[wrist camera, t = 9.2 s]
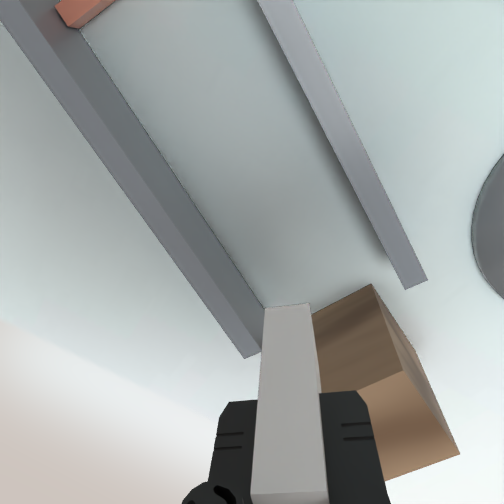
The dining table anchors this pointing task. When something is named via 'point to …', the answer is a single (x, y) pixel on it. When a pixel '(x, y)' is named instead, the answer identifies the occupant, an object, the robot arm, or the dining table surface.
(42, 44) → the channel
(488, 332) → the dining table surface
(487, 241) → the coaster
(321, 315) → the block
